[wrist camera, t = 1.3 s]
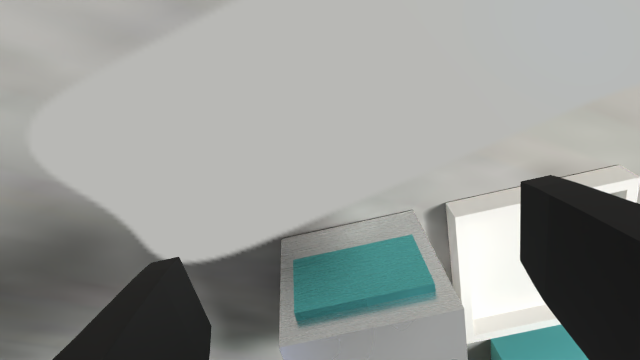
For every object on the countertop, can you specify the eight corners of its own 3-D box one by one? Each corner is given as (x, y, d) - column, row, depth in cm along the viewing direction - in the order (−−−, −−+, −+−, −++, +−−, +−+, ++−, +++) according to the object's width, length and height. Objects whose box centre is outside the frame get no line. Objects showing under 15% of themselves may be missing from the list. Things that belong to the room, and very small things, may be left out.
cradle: (602, 295, 18) (618, 312, 17) (456, 326, 18) (464, 344, 17) (620, 164, 15) (640, 177, 14) (445, 202, 15) (455, 217, 15)
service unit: (424, 294, 17) (471, 407, 13) (306, 319, 18) (313, 439, 13) (412, 203, 15) (463, 300, 11) (279, 232, 16) (275, 339, 11)
